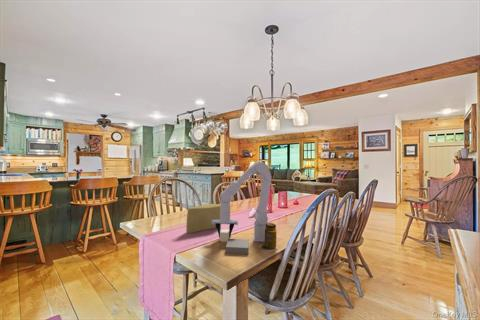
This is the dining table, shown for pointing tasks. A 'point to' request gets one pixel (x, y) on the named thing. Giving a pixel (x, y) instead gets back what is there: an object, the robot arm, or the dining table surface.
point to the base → (237, 246)
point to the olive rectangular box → (202, 217)
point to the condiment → (270, 238)
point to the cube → (224, 235)
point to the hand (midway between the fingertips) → (224, 237)
